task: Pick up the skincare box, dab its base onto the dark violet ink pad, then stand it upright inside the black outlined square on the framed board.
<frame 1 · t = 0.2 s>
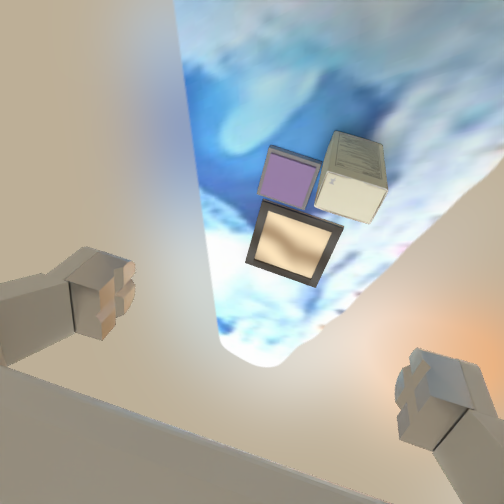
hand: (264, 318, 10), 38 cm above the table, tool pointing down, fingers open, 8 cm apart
framed board: (291, 244, 56), on the table
ink pad: (288, 176, 50), on the table
skincare box: (353, 152, 46), on the table
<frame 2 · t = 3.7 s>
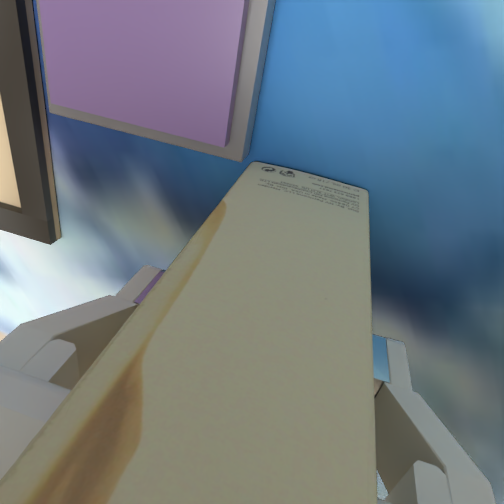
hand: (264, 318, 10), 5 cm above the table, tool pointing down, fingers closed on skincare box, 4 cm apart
ink pad: (159, 16, 11), on the table
skincare box: (290, 246, 15), on the table, touching gripper
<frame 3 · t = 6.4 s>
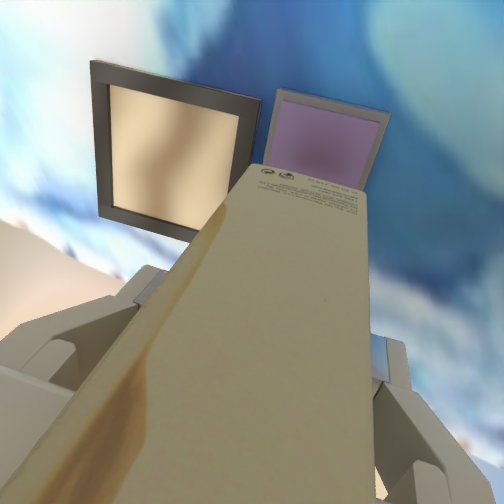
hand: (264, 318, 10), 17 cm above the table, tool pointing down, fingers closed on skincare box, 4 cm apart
framed board: (171, 164, 28), on the table
ink pad: (318, 153, 25), on the table
skincare box: (289, 247, 15), point 12 cm above the table, touching gripper
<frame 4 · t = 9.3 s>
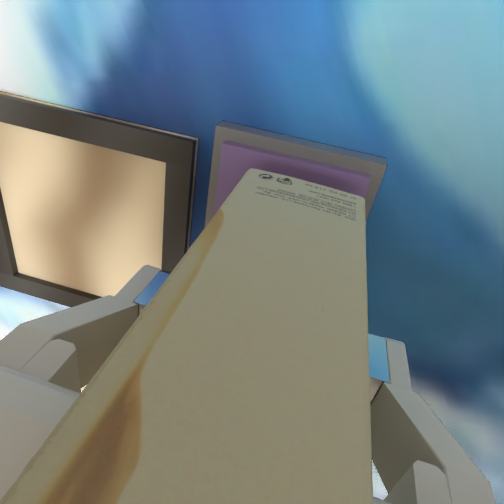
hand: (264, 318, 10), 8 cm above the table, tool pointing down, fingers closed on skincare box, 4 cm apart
framed board: (85, 222, 20), on the table
ink pad: (284, 212, 17), on the table
skincare box: (287, 252, 15), point 3 cm above the table, touching gripper
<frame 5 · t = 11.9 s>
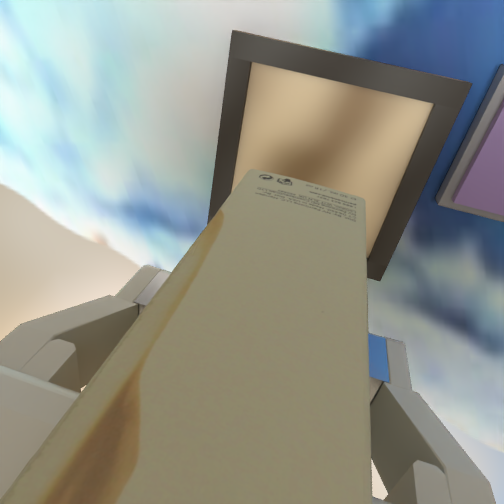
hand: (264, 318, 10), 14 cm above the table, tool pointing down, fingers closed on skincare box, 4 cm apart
framed board: (316, 167, 22), on the table
skincare box: (287, 252, 15), point 9 cm above the table, touching gripper
when the fingers open (6 cm above the table, at t = 13.9 s): skincare box drops 1 cm, resting on framed board.
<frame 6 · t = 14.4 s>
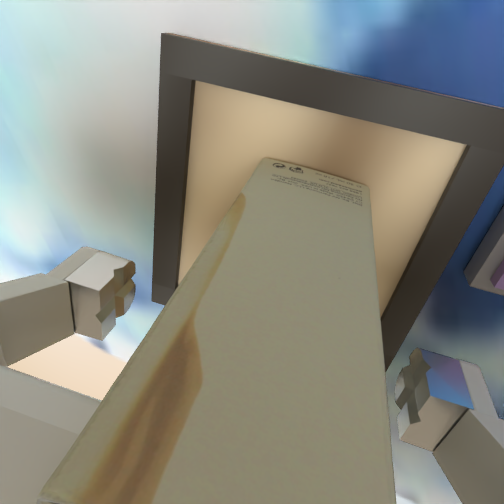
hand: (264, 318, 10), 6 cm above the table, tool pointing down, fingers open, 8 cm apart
framed board: (294, 225, 16), on the table
skincare box: (295, 237, 16), resting on framed board
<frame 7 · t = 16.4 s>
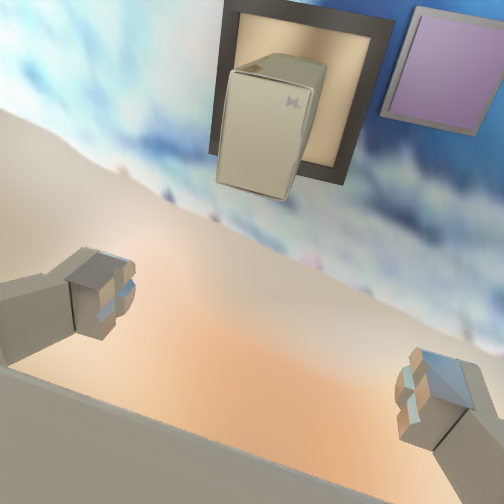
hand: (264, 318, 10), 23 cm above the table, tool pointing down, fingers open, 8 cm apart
framed board: (290, 94, 29), on the table
ink pad: (444, 73, 26), on the table
skincare box: (291, 102, 29), resting on framed board
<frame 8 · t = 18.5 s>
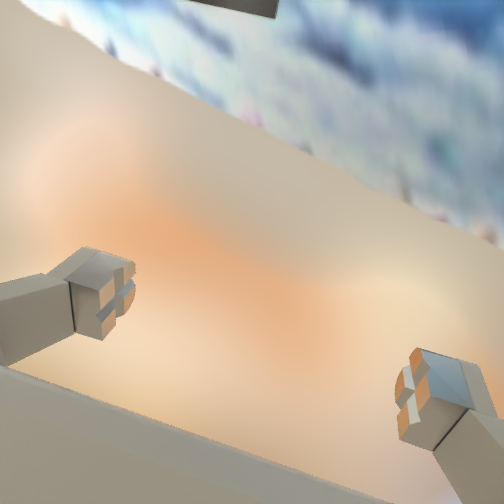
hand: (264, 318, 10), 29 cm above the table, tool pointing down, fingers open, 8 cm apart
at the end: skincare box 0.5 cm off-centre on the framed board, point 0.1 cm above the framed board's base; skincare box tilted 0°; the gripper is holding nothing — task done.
